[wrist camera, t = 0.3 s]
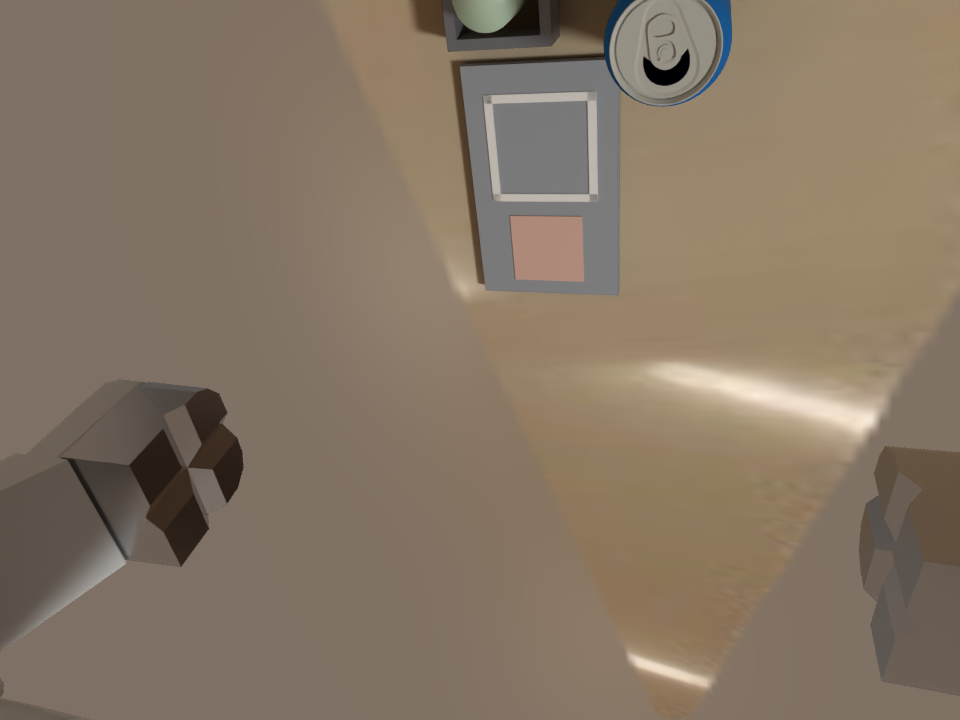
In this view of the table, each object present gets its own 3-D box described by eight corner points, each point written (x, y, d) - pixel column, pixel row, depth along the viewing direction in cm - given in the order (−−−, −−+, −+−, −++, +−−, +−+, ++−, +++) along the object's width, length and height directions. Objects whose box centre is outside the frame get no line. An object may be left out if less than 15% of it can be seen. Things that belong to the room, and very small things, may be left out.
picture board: (462, 63, 52) (459, 66, 51) (619, 56, 49) (618, 59, 48) (487, 285, 62) (485, 290, 62) (619, 290, 59) (618, 296, 59)
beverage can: (630, 65, 49) (609, 122, 40) (618, -42, 46) (592, -7, 36) (732, 47, 47) (734, 103, 38) (727, -67, 44) (729, -36, 34)
